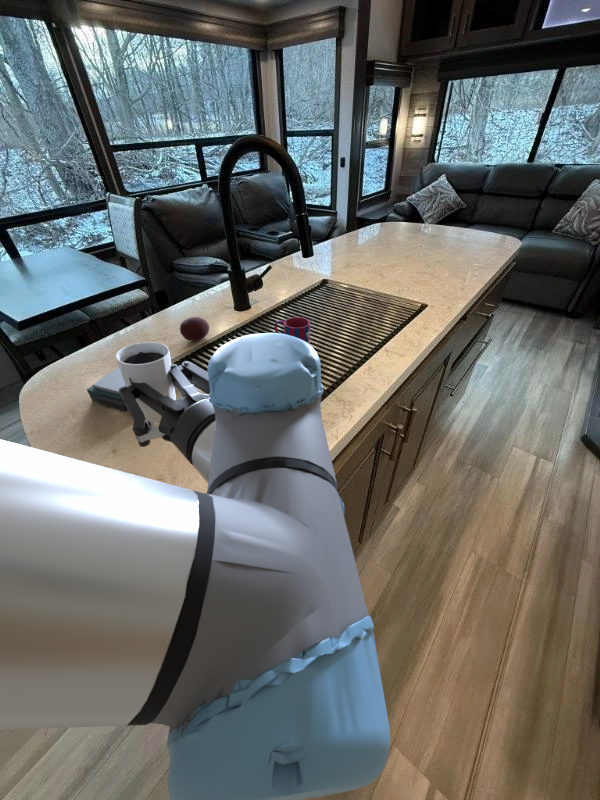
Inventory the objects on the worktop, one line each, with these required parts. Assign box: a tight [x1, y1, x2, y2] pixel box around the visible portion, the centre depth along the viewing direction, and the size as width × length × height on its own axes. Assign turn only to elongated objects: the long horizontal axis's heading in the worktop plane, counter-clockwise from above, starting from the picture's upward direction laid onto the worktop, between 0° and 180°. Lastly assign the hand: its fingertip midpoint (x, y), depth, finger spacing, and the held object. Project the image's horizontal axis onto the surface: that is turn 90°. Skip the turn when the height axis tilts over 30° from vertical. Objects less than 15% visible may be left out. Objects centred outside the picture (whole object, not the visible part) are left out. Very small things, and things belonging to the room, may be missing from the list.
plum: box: [179, 316, 210, 342], centre depth 91 cm, size 7×8×6 cm
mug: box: [274, 316, 311, 346], centre depth 88 cm, size 7×10×7 cm
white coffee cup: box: [115, 341, 177, 425], centre depth 47 cm, size 7×7×10 cm
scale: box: [86, 366, 176, 413], centre depth 73 cm, size 15×14×4 cm
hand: (136, 361), depth 50 cm, fingers closed on white coffee cup, 3 cm apart
